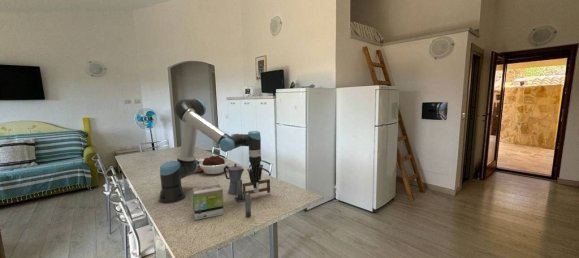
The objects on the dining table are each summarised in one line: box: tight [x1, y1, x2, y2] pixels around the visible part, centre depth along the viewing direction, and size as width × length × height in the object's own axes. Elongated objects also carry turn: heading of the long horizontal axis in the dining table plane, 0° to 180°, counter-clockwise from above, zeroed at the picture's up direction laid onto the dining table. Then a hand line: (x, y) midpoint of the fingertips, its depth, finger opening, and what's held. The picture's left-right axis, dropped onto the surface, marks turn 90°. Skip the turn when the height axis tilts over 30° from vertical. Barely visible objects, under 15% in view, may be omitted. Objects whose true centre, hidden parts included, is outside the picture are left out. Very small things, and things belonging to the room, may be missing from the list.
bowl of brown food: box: [198, 155, 230, 175], centre depth 213 cm, size 25×25×15 cm
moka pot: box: [223, 163, 245, 195], centre depth 168 cm, size 10×15×20 cm, turn 78°
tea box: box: [191, 184, 224, 221], centre depth 137 cm, size 15×10×15 cm
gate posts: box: [234, 179, 252, 218], centre depth 145 cm, size 6×27×13 cm, turn 22°
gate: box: [242, 178, 271, 198], centre depth 160 cm, size 2×18×9 cm, turn 117°
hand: (256, 192), depth 157 cm, fingers closed
